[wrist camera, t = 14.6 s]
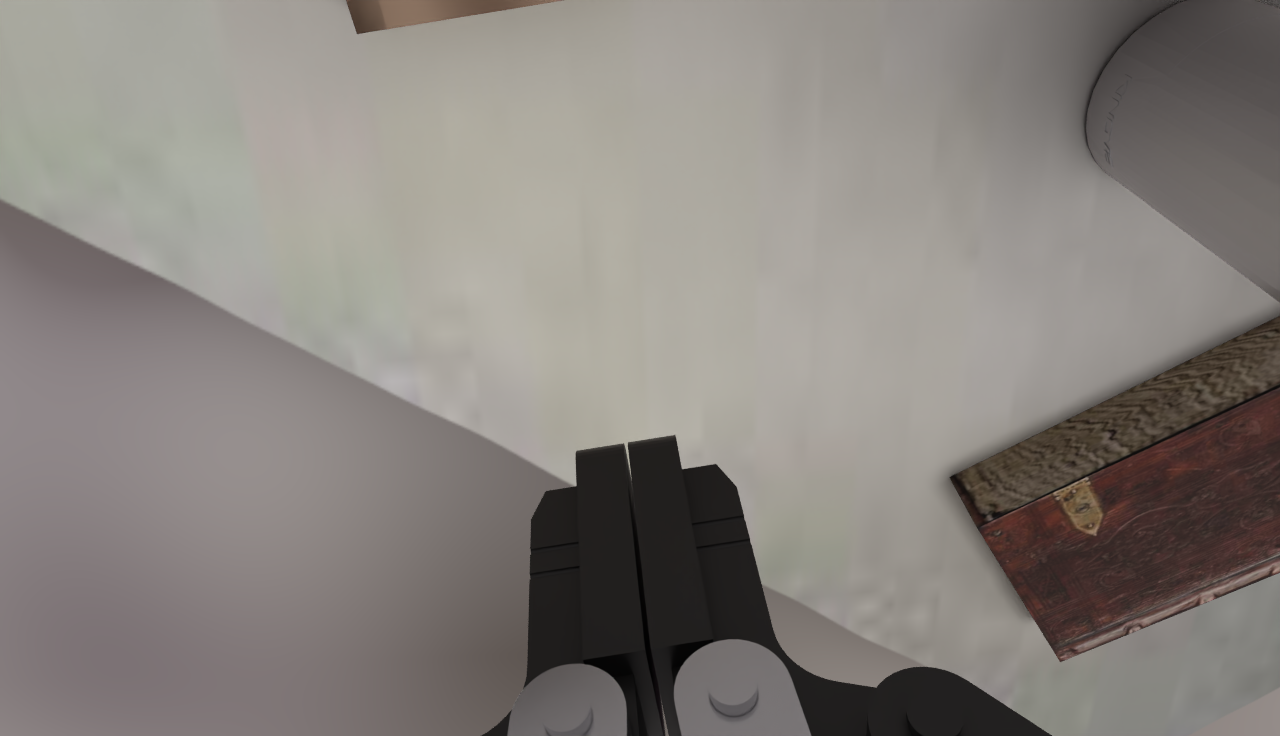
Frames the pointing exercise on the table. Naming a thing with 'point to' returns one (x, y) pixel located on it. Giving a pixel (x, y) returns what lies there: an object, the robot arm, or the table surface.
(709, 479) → the robot arm
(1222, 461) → the latched wooden chest
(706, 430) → the table surface
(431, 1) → the trap box
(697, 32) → the table surface
